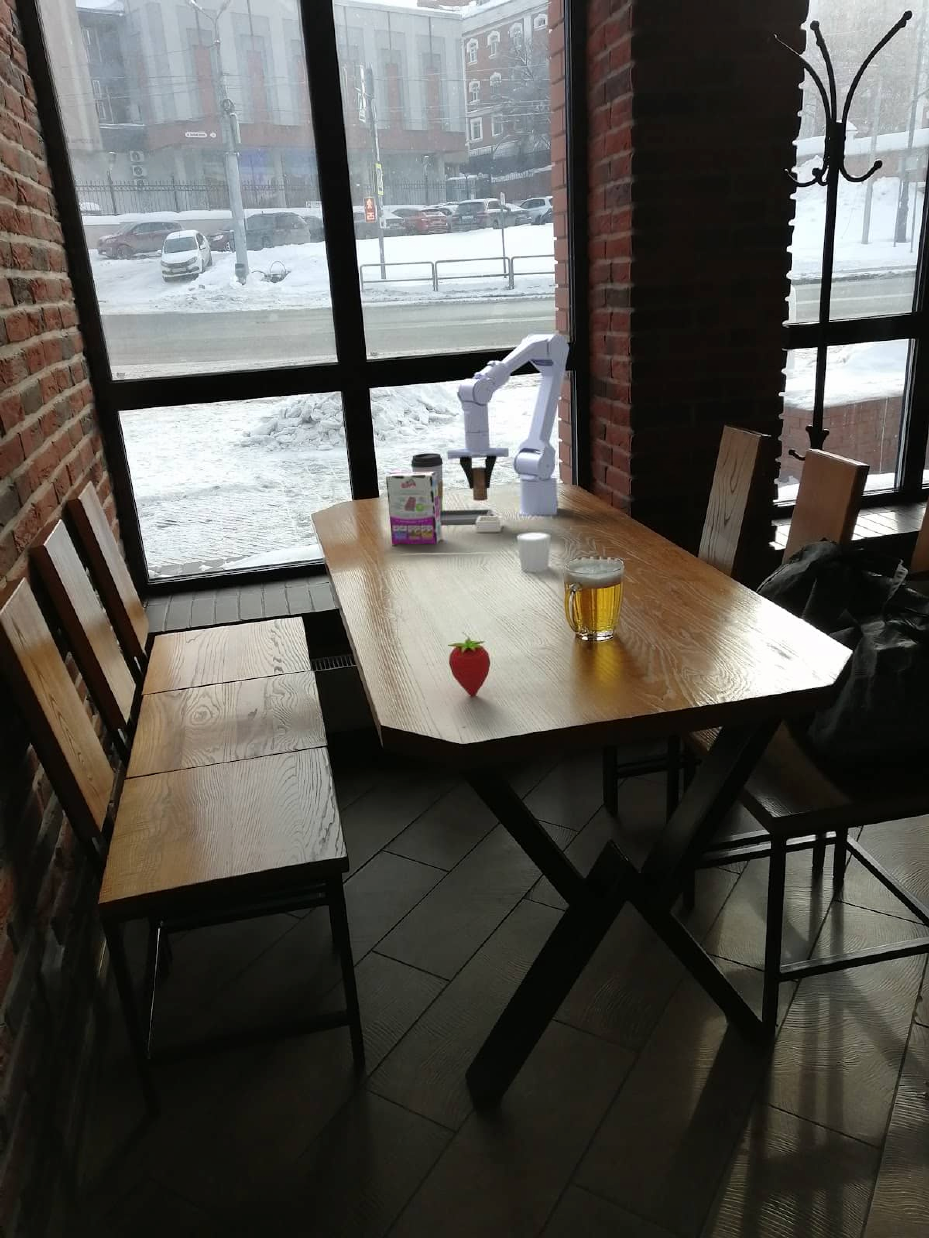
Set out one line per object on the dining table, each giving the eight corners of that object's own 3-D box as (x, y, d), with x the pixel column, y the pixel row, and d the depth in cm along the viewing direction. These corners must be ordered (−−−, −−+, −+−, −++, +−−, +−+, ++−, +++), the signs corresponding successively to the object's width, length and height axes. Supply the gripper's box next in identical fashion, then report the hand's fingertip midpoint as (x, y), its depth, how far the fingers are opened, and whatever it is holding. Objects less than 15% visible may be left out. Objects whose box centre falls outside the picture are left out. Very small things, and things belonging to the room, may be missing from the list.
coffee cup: (410, 515, 244) (405, 458, 239) (420, 508, 251) (416, 452, 246) (440, 516, 241) (436, 458, 236) (450, 508, 249) (446, 452, 244)
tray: (492, 515, 239) (491, 509, 238) (487, 525, 230) (487, 518, 229) (438, 516, 241) (438, 510, 241) (432, 526, 232) (431, 520, 231)
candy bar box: (442, 540, 219) (438, 470, 213) (437, 545, 214) (432, 475, 209) (397, 539, 222) (391, 471, 216) (391, 545, 217) (385, 475, 212)
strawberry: (455, 709, 132) (451, 643, 128) (447, 687, 139) (443, 625, 135) (496, 703, 132) (493, 638, 129) (486, 683, 139) (483, 620, 136)
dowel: (488, 497, 227) (486, 466, 224) (486, 500, 224) (485, 469, 221) (474, 497, 227) (472, 467, 225) (472, 500, 224) (471, 470, 222)
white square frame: (502, 526, 227) (502, 515, 226) (500, 533, 222) (499, 521, 221) (479, 527, 228) (478, 516, 227) (476, 533, 223) (475, 522, 222)
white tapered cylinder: (549, 573, 189) (548, 540, 187) (515, 573, 191) (514, 540, 188) (552, 563, 196) (552, 531, 193) (520, 563, 197) (519, 531, 195)
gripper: (444, 434, 217) (447, 492, 222) (506, 432, 215) (508, 490, 220) (448, 430, 224) (451, 485, 228) (508, 427, 222) (510, 484, 226)
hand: (479, 487), depth 225 cm, fingers closed on dowel, 3 cm apart
